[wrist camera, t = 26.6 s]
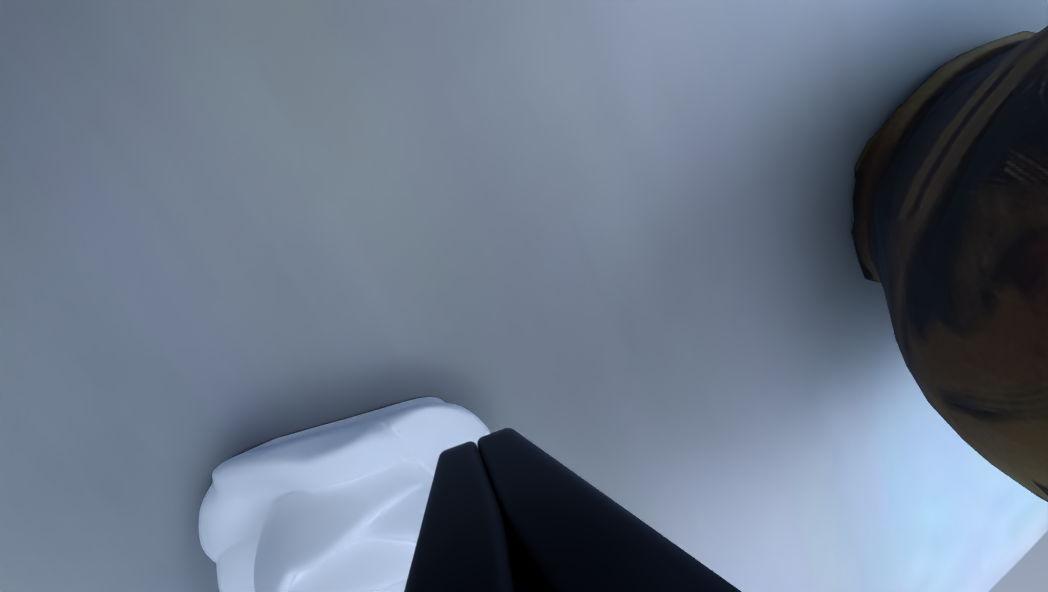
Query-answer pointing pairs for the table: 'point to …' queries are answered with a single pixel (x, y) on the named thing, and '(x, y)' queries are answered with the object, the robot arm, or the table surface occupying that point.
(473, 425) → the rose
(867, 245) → the ceramic jug
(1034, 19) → the table surface
